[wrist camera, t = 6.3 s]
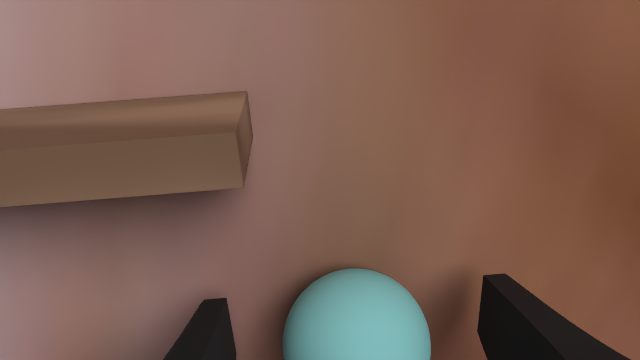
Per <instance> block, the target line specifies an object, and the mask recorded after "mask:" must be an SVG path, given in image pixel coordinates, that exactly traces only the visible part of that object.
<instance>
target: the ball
mask: <svg viewBox="0 0 640 360" xmlns="http://www.w3.org/2000/svg"><path fill="white" fill-rule="evenodd" d="M430 356H431V341H430V333H429V329H428V325H427V322H426V319H425V317H424V314H423V312H422V310H421V308H420V307H419V305H418V303H417V302H416V300H415V299H414V298H413V296H412V295H411V294H410V293H409V292H408V291H407V290H406V289H405V288H404V287H403V286H402V285H400V284H399V283H398V282H396V281H395V280H393V279H392V278H390V277H388V276H386V275H384V274H381V273H379V272H376V271H373V270H367V269H360V268H352V269H343V270H338V271H334V272H331V273H329V274H327V275H324V276H322V277H320V278H319V279H317V280H316V281H314V282H313V283H311V284H310V285H309V286H308V287H307V288H306V289H305V290H304V291H303V292H302V293H301V294H300V295H299V297H298V298H297V299H296V301H295V302H294V304H293V306H292V308H291V309H290V312H289V314H288V317H287V320H286V323H285V326H284V332H283V358H284V360H430Z"/></svg>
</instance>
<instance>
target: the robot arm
mask: <svg viewBox="0 0 640 360" xmlns="http://www.w3.org/2000/svg"><path fill="white" fill-rule="evenodd" d="M477 332H478V335H479V337H480V340H481V343H482V346H483V349H484V352H485V354H486V357H487V360H630V359H629V358H627V357H625V356H623V355H622V354H620V353H618V352H616V351H615V350H613V349H611V348H610V347H608V346H606V345H605V344H603V343H602V342H600V341H598V340H597V339H595V338H594V337H592V336H591V335H589V334H588V333H586V332H585V331H583V330H582V329H580V328H579V327H577V326H576V325H574V324H573V323H571V322H570V321H568V320H567V319H566V318H564V317H563V316H561V315H560V314H559V313H557V312H556V311H554V310H553V309H552V308H550V307H549V306H548V305H546V304H545V303H544V302H542V301H541V300H540V299H538V298H537V297H536V296H534V295H533V294H532V293H530V292H529V291H528V290H526V289H525V288H524V287H523V286H521V285H520V284H519V283H517V282H516V281H515V280H513V279H512V278H510V277H509V276H508V275H506V274H493V275H483V284H482V293H481V302H480V311H479V321H478V330H477ZM163 360H236V349H235V343H234V338H233V332H232V326H231V321H230V315H229V310H228V304H227V299H226V298H218V299H207V300H204V301H203V302H202V303H201V304H200V306H199V307H198V309H197V310H196V312H195V314H194V315H193V317H192V318H191V320H190V322H189V323H188V325H187V326H186V328H185V329H184V331H183V332H182V334H181V335H180V337H179V338H178V339H177V341H176V342H175V344H174V345H173V346H172V348H171V349H170V351H169V352H168V353H167V355H166V356H165V358H164V359H163Z"/></svg>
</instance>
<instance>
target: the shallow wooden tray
mask: <svg viewBox="0 0 640 360" xmlns="http://www.w3.org/2000/svg"><path fill="white" fill-rule="evenodd" d="M252 138H253V134H252V126H251V118H250V110H249V102H248V94H247V91H243V92H229V93H216V94H202V95H189V96H175V97H162V98H148V99H135V100H121V101H108V102H94V103H81V104H67V105H54V106H40V107H27V108H14V109H0V207H9V206H22V205H34V204H47V203H59V202H72V201H84V200H96V199H109V198H121V197H134V196H146V195H159V194H171V193H184V192H196V191H208V190H221V189H233V188H244V182H245V177H246V171H247V166H248V160H249V155H250V149H251V144H252Z"/></svg>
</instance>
